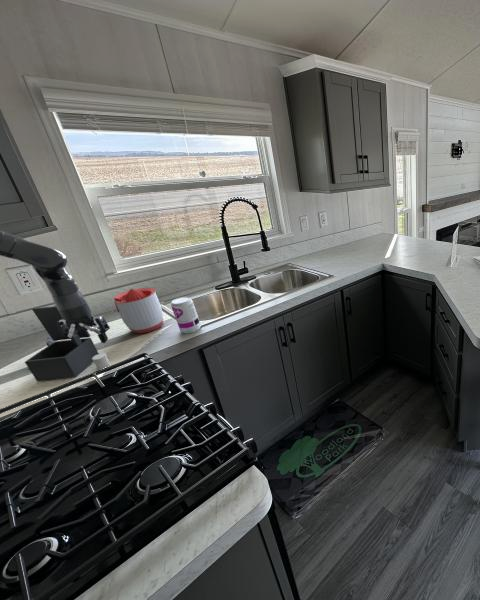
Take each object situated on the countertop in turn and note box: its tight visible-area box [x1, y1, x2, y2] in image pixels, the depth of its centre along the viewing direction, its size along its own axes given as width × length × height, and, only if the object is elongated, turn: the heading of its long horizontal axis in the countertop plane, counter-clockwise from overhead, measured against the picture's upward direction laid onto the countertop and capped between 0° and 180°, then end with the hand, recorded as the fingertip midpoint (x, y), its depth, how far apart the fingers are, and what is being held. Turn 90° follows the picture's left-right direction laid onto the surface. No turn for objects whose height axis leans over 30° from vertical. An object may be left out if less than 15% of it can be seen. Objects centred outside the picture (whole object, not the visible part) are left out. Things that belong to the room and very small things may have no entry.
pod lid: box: [31, 304, 91, 342], centre depth 126 cm, size 14×13×5 cm
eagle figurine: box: [46, 336, 54, 347], centre depth 133 cm, size 8×7×9 cm
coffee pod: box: [92, 352, 112, 371], centre depth 124 cm, size 4×4×5 cm
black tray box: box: [24, 337, 100, 382], centre depth 124 cm, size 14×13×9 cm
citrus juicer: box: [111, 287, 164, 335], centre depth 148 cm, size 16×17×20 cm
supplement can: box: [170, 296, 202, 334], centre depth 147 cm, size 8×8×15 cm
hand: (92, 343), depth 121 cm, fingers open, 8 cm apart
